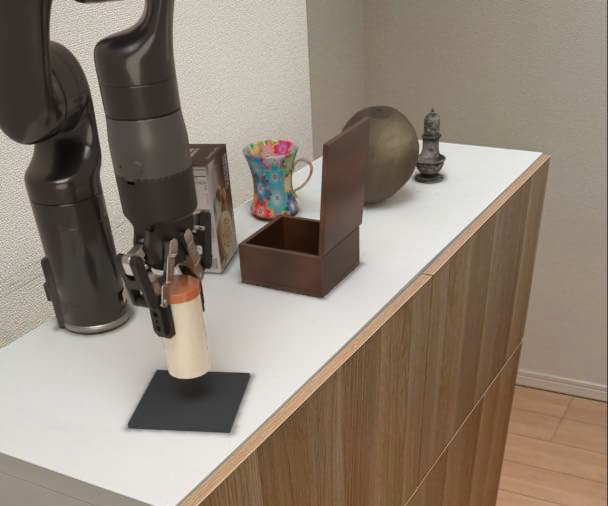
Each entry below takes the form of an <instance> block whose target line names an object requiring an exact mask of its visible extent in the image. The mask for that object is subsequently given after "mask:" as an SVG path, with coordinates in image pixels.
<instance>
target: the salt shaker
mask: <svg viewBox="0 0 608 506" xmlns="http://www.w3.org/2000/svg"><path fill="white" fill-rule="evenodd" d="M440 127H441V116H440V114H438V113H437V112H435V108H434V107H431V109H430V112H429V113H427V114H426V115H425V116H424V118H423V132H422V134H421V135H420V138H422V144H421V145H422V146H421V150H420V152H419V156H418V161H417V165H416V168H415V169H416V170H417V171H418V172H419V173H417V174H416V175H415V176H414V180H415V181H416V182H418V183H421V184H435V183H439V182H441V181H443V179H444V176H443V175H442V174H440V173H439V172H440V171H441V170H442V169H443V167H444V165H445V161H446V160H447V157H446V156H445V155H444V154H442V153H440V139H441V137H442V134H441V133H440Z"/></svg>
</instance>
